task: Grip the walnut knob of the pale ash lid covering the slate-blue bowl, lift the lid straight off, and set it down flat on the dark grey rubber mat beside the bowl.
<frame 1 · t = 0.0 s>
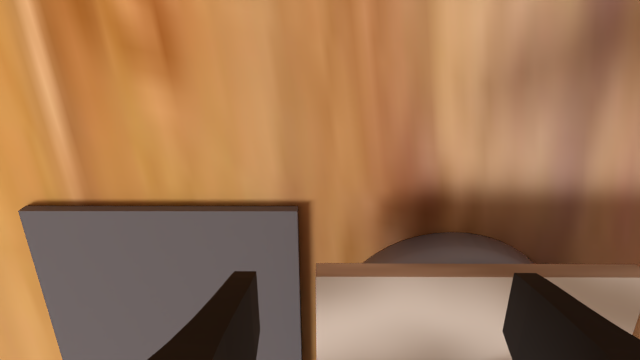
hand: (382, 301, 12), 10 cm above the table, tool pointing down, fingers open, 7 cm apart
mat: (180, 329, 26), on the table
bowl: (439, 330, 26), on the table
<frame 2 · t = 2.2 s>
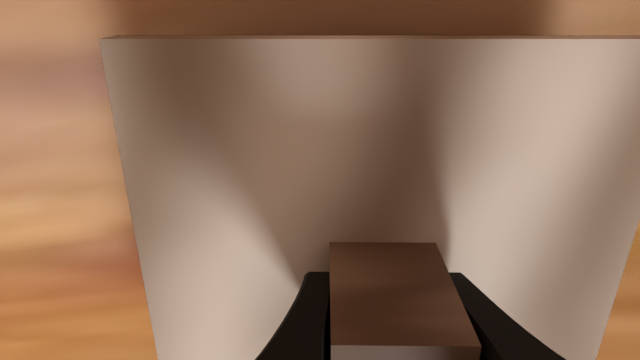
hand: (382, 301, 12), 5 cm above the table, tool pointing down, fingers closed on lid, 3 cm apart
lid: (376, 267, 14), point 4 cm above the table, touching bowl, gripper
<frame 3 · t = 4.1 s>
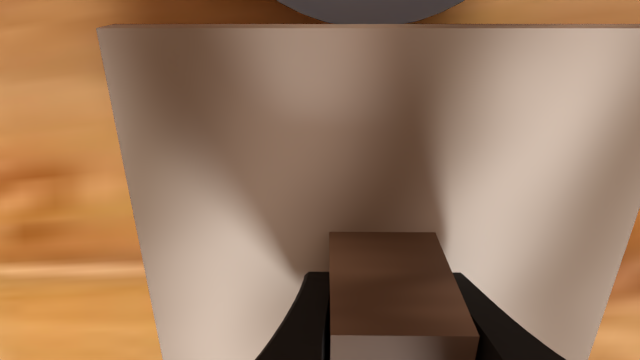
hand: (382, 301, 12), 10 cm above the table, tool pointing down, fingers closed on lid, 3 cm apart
lid: (375, 256, 14), point 9 cm above the table, touching gripper
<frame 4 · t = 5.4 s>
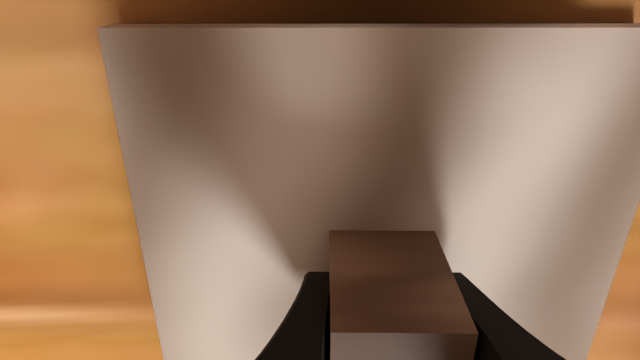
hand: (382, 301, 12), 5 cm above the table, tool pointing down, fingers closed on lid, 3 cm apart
lid: (375, 254, 14), point 3 cm above the table, touching gripper
when the fingers open (4 cm above the table, at t = 6.3 s): lid drops 1 cm, resting on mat.
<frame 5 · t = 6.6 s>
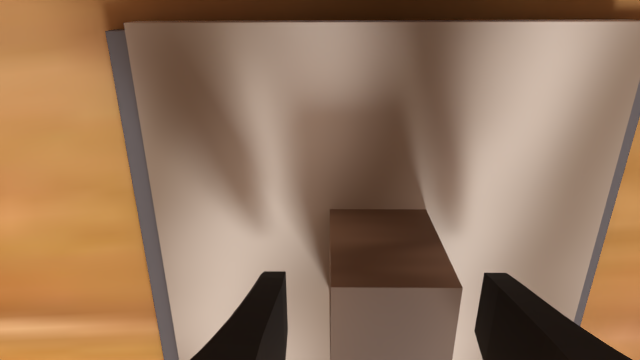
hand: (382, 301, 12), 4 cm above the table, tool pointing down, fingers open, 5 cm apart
lid: (372, 235, 15), point 1 cm above the table, touching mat
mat: (370, 234, 16), on the table
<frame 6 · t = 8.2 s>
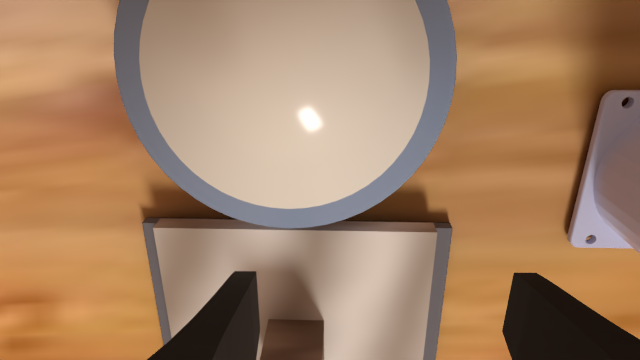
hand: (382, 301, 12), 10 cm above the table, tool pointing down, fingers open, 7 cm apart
lid: (298, 328, 25), point 1 cm above the table, touching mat
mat: (299, 325, 26), on the table
bowl: (292, 64, 20), on the table
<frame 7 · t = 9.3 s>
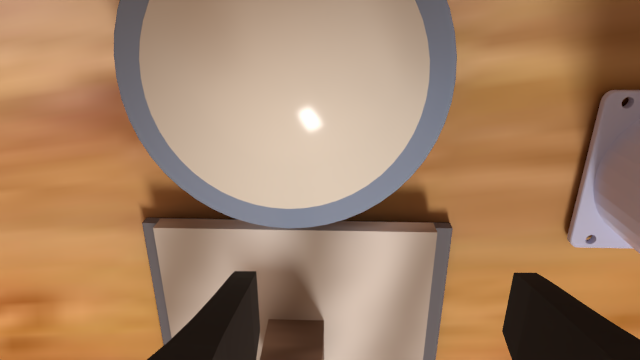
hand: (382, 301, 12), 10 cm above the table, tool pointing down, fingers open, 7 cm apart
lid: (298, 328, 25), point 1 cm above the table, touching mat
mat: (299, 325, 26), on the table
bowl: (292, 64, 20), on the table
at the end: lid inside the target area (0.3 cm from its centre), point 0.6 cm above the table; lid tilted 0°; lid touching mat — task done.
